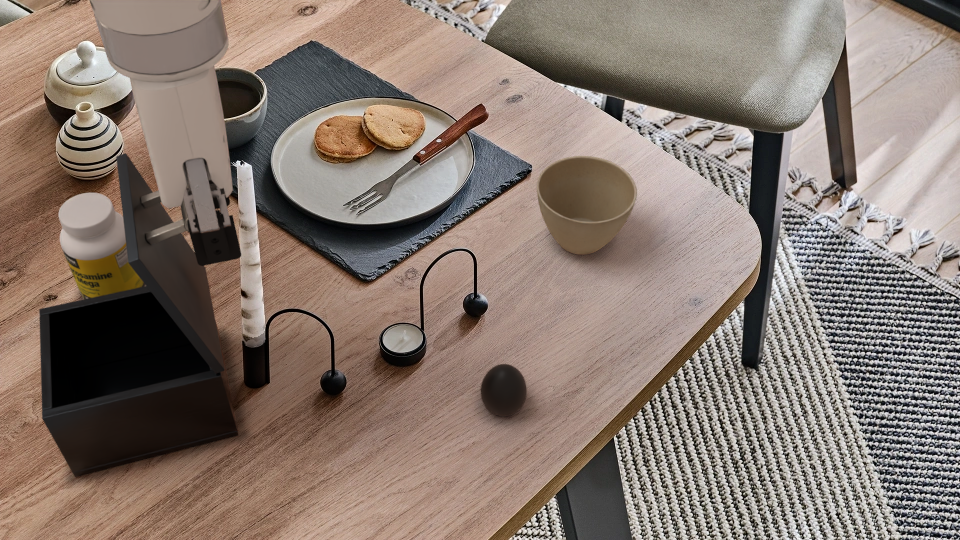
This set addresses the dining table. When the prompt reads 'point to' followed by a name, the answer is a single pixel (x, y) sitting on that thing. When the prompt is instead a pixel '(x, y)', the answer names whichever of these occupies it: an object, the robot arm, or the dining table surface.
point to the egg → (503, 390)
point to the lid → (168, 262)
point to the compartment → (126, 383)
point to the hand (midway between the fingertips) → (214, 231)
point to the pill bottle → (96, 246)
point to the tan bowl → (585, 201)
